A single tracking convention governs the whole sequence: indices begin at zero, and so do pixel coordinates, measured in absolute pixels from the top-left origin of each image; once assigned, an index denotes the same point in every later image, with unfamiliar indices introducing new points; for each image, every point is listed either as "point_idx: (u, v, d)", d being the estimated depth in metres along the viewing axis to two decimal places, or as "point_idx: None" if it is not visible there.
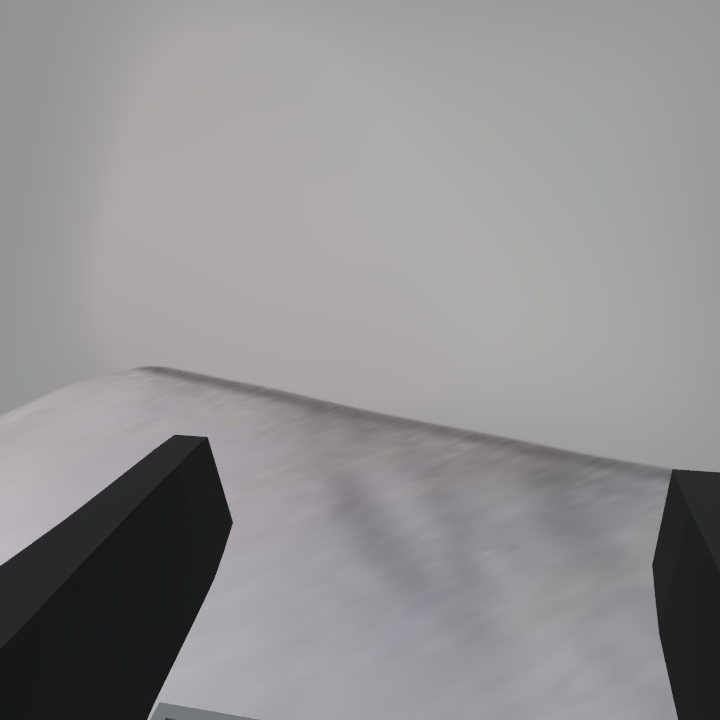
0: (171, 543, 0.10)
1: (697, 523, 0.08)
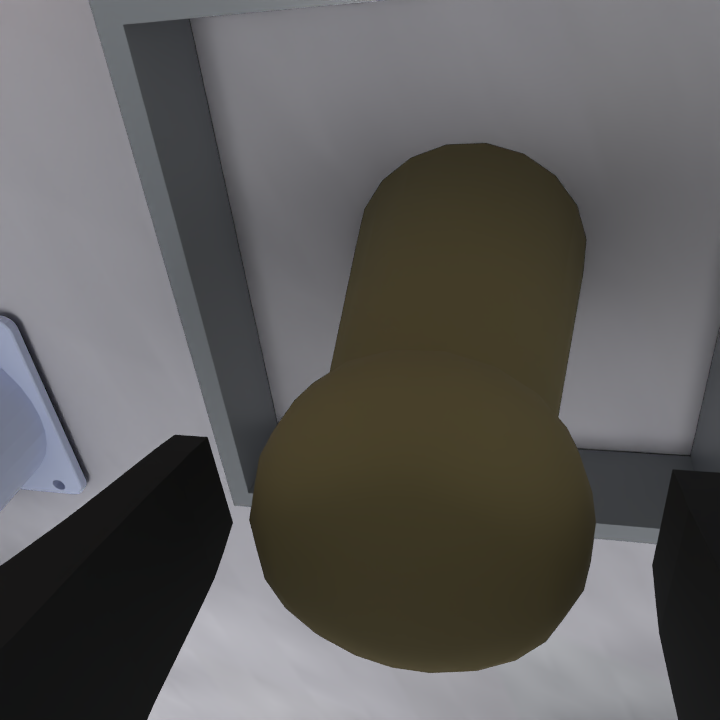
0: (171, 543, 0.10)
1: (697, 523, 0.08)
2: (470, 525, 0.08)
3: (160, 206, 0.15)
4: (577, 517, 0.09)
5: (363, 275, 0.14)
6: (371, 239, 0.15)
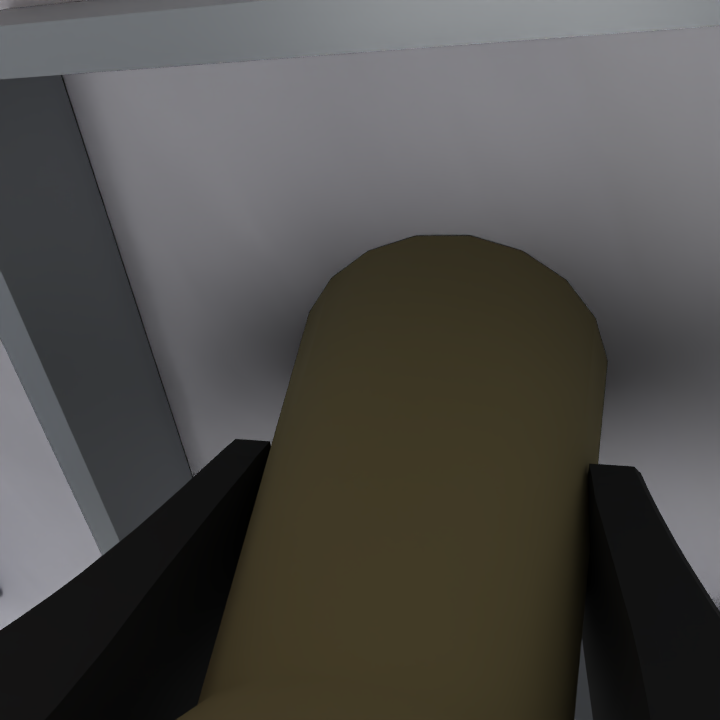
0: (238, 550, 0.10)
1: (602, 515, 0.08)
2: None
3: (12, 328, 0.11)
4: None
5: (282, 457, 0.09)
6: (302, 386, 0.10)
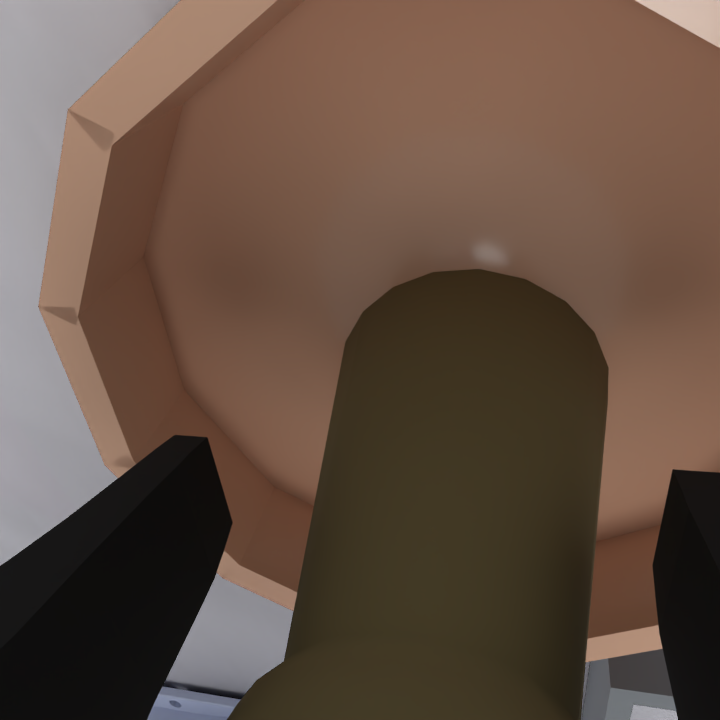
0: (171, 543, 0.10)
1: (697, 523, 0.08)
2: None
3: None
4: None
5: (334, 467, 0.11)
6: (346, 407, 0.12)
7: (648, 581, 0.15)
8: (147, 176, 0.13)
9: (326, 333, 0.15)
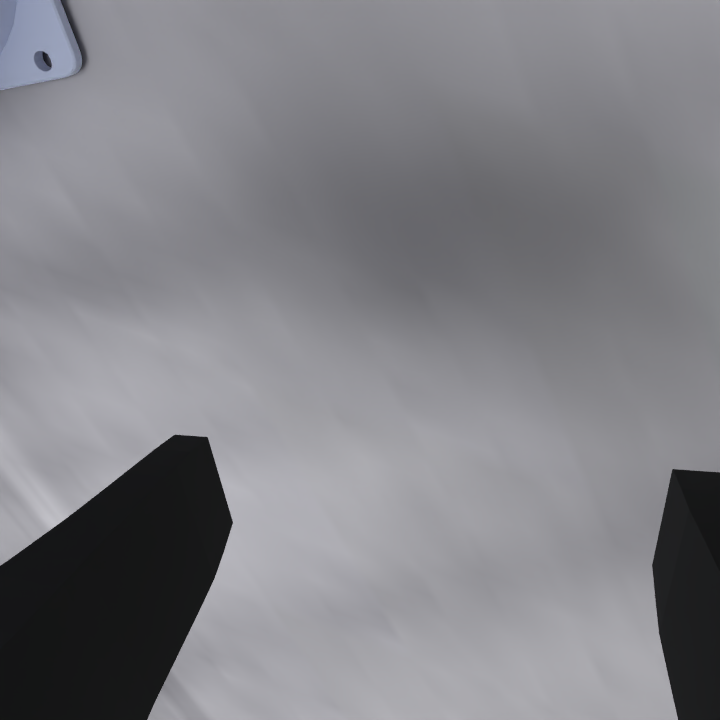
0: (171, 543, 0.10)
1: (697, 523, 0.08)
2: None
3: None
4: None
5: None
6: None
7: None
8: None
9: None
